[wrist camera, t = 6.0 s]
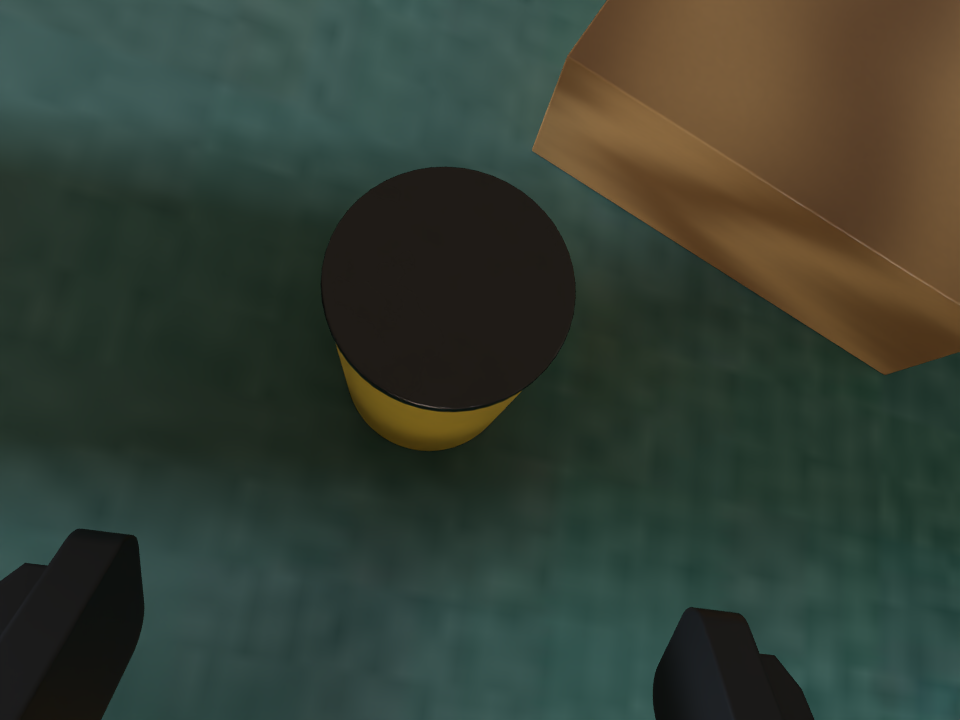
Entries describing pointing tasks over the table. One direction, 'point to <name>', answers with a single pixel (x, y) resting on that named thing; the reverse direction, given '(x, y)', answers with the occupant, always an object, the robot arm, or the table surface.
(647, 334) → the table surface
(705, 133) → the wood block
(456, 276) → the tin
